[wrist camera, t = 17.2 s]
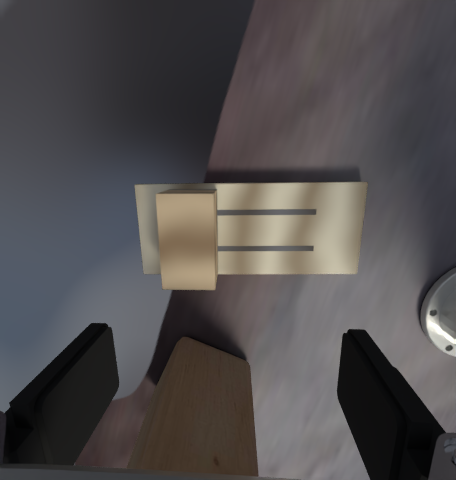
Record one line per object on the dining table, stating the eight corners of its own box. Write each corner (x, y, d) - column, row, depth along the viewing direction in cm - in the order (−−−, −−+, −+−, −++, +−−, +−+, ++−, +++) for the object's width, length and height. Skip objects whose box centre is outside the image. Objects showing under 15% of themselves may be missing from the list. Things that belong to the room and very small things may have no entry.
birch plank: (361, 181, 29) (368, 182, 27) (351, 269, 31) (356, 274, 30) (139, 184, 29) (134, 184, 28) (147, 269, 32) (143, 274, 30)
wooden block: (252, 359, 35) (274, 597, 16) (221, 414, 37) (206, 678, 18) (181, 330, 34) (111, 544, 15) (154, 388, 36) (64, 637, 17)
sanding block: (169, 189, 28) (155, 193, 23) (217, 189, 28) (213, 193, 23) (173, 270, 30) (162, 289, 25) (218, 270, 30) (214, 290, 25)
